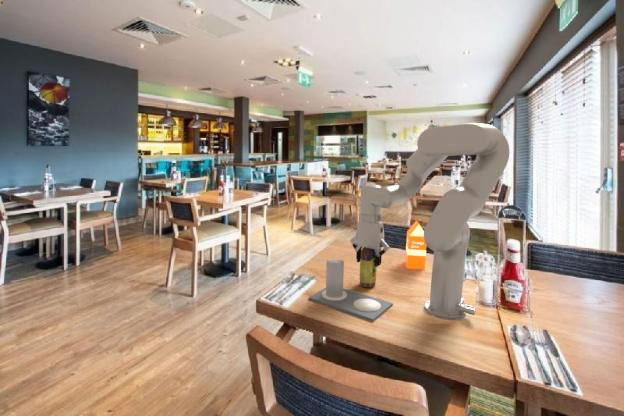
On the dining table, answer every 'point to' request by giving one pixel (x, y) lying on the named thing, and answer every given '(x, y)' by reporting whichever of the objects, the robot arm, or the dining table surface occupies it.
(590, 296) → the dining table surface
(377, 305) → the board
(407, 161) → the robot arm
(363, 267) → the sauce bottle
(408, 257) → the orange juice
